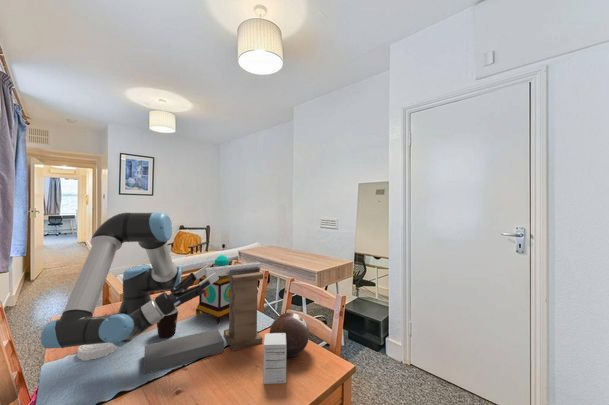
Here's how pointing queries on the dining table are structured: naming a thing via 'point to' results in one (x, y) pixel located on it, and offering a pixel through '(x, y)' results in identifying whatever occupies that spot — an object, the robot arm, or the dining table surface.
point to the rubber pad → (182, 350)
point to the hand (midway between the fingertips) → (213, 271)
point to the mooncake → (95, 350)
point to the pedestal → (243, 309)
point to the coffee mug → (167, 325)
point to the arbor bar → (230, 269)
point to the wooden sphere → (292, 332)
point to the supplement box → (274, 358)
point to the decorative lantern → (216, 293)
